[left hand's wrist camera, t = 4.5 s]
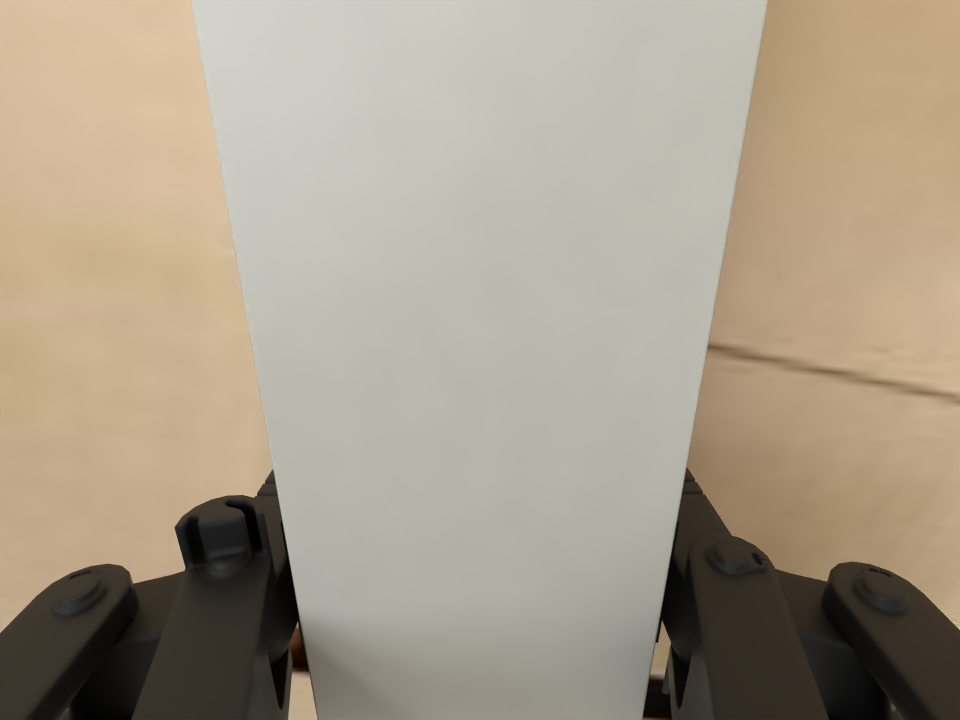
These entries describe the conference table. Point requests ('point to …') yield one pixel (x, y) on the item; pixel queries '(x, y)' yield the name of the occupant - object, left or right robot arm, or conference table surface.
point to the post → (479, 326)
